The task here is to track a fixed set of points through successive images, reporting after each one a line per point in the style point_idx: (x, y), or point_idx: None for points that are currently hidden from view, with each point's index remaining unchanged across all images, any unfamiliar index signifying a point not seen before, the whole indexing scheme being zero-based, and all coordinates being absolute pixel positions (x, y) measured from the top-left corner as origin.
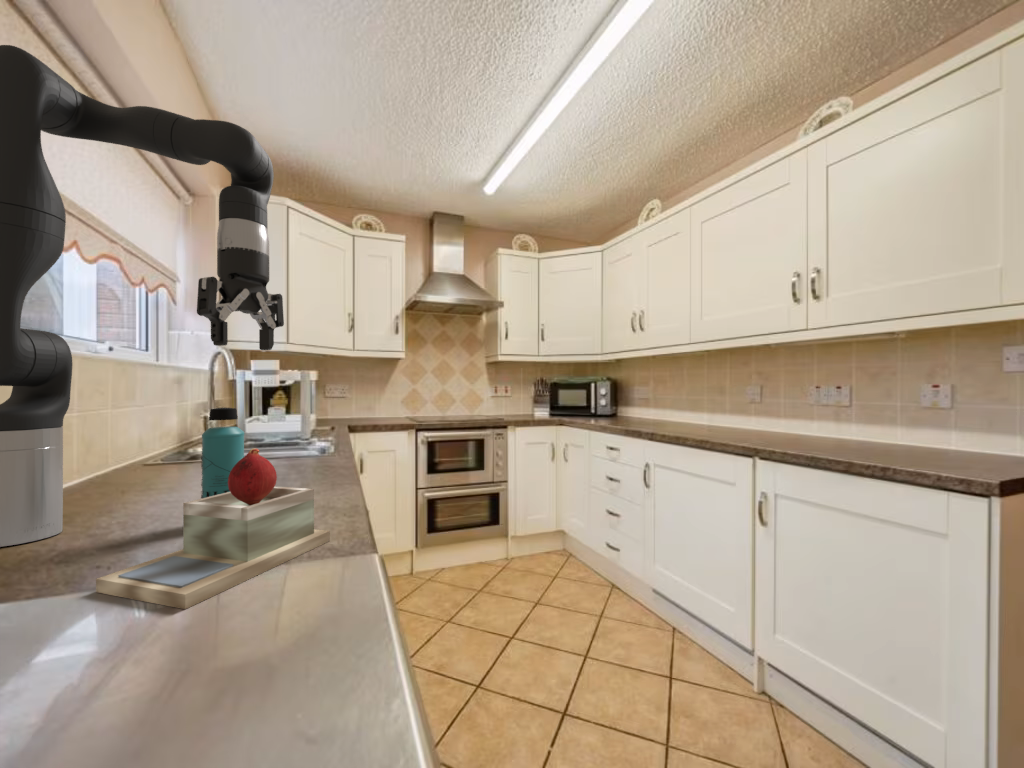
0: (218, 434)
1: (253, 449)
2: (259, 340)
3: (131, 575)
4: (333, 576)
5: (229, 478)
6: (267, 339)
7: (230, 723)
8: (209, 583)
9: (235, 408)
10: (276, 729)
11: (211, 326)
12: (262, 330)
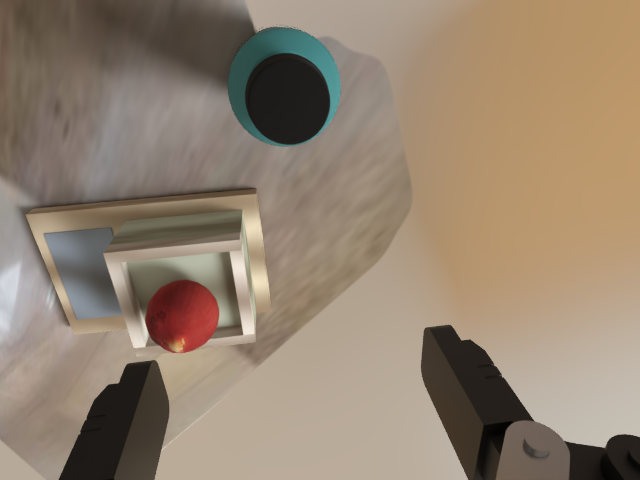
0: (246, 127)
1: (174, 350)
2: (449, 360)
3: (53, 248)
4: (195, 375)
5: (146, 311)
6: (442, 413)
7: (42, 451)
8: (99, 331)
9: (317, 130)
10: (54, 468)
11: (67, 470)
12: (475, 437)
